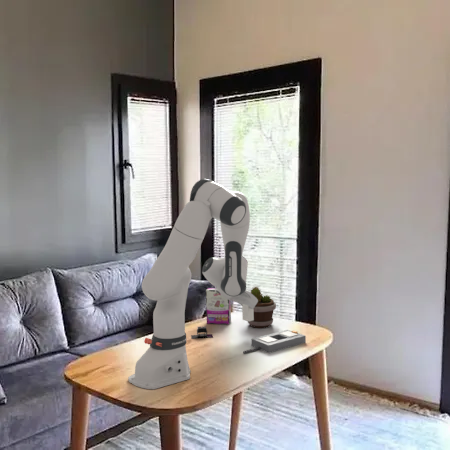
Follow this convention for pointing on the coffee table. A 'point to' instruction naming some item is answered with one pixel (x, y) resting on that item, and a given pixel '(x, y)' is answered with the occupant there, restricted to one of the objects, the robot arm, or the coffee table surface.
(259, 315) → the flowerpot
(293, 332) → the power strip
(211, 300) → the candy bar box
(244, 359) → the coffee table surface
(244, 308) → the plug
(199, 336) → the black boxy piece
